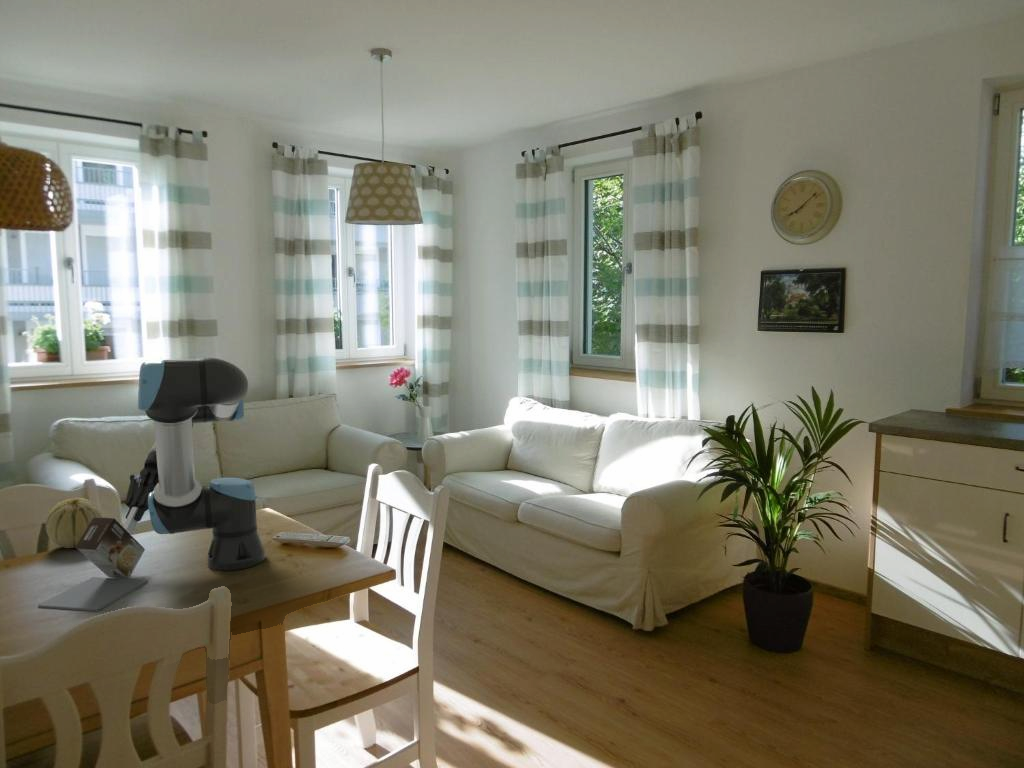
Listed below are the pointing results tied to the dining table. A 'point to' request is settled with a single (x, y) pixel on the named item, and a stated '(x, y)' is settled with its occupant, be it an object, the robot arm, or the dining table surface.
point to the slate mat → (93, 594)
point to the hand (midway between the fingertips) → (127, 531)
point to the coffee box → (110, 548)
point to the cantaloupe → (70, 521)
